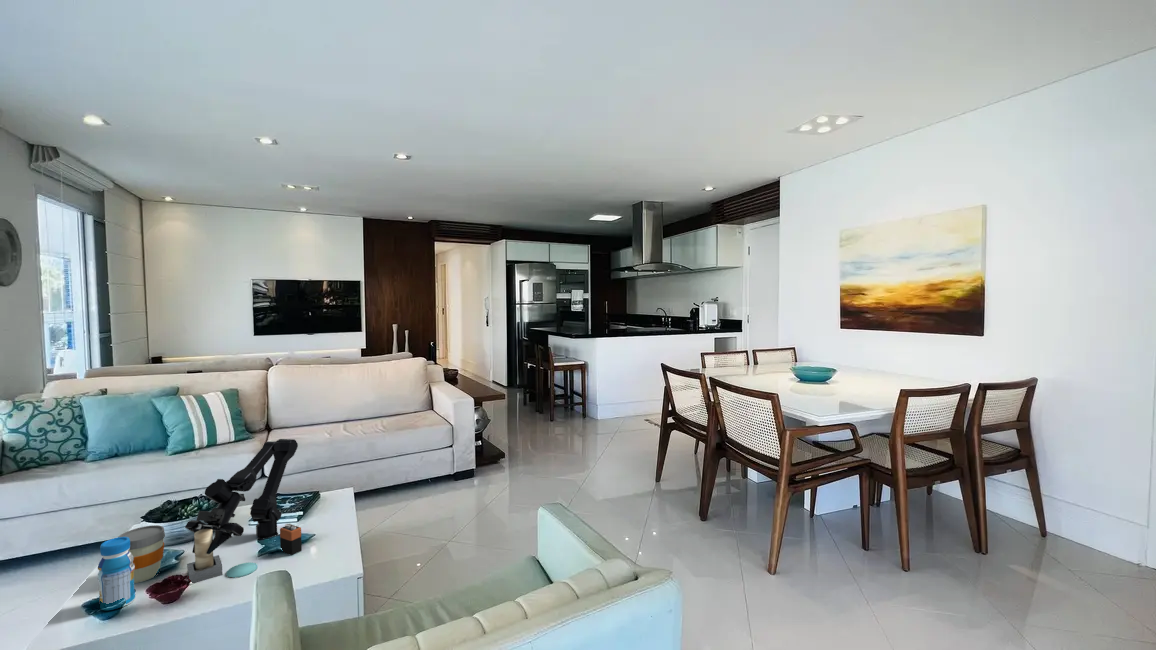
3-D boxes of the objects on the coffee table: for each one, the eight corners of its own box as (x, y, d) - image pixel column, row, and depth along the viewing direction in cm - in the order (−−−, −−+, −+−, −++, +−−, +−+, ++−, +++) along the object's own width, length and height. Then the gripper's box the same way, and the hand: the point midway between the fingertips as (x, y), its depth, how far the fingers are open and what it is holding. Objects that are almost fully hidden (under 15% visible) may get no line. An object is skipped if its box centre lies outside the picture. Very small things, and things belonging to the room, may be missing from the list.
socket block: (219, 564, 177) (218, 554, 176) (222, 574, 170) (222, 564, 170) (187, 573, 171) (186, 563, 170) (189, 584, 164) (189, 574, 164)
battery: (291, 546, 190) (290, 521, 189) (302, 550, 187) (301, 525, 186) (279, 551, 186) (279, 525, 185) (291, 556, 183) (290, 529, 182)
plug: (212, 568, 174) (211, 527, 173) (214, 574, 170) (213, 532, 169) (195, 573, 170) (193, 531, 170) (196, 580, 167) (194, 536, 166)
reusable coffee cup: (141, 565, 176) (140, 524, 175) (175, 566, 175) (174, 525, 175) (106, 585, 163) (105, 541, 162) (143, 586, 163) (142, 542, 162)
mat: (255, 561, 179) (255, 559, 179) (259, 571, 172) (259, 569, 172) (224, 570, 173) (224, 568, 173) (228, 581, 166) (228, 579, 166)
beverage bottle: (113, 614, 148) (111, 549, 147) (91, 610, 150) (88, 546, 149) (143, 597, 157) (140, 536, 156) (121, 594, 158) (118, 533, 157)
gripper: (188, 498, 174) (159, 543, 164) (236, 500, 172) (210, 547, 161) (208, 510, 182) (182, 554, 172) (254, 513, 180) (230, 558, 170)
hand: (200, 553), depth 168 cm, fingers closed on plug, 5 cm apart
